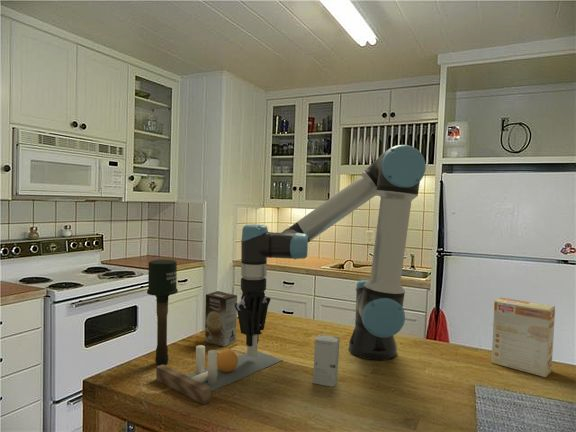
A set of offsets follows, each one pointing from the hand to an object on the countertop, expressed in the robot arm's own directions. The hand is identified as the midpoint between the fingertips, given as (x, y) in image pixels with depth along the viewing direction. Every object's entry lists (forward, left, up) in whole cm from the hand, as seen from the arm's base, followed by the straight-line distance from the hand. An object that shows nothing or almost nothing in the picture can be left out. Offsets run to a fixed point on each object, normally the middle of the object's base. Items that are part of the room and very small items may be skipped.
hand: (252, 355), depth 128 cm
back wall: (0, +25, -2) cm, 25 cm away
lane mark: (0, +7, -2) cm, 8 cm away
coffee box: (+20, -5, -2) cm, 21 cm away
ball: (0, +10, +1) cm, 10 cm away
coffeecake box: (-61, -53, -2) cm, 81 cm away
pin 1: (+2, +17, -2) cm, 18 cm away
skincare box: (-24, -4, -2) cm, 24 cm away
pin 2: (-2, +17, -2) cm, 18 cm away
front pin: (0, +14, -1) cm, 14 cm away
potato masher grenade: (+18, +19, -2) cm, 26 cm away
